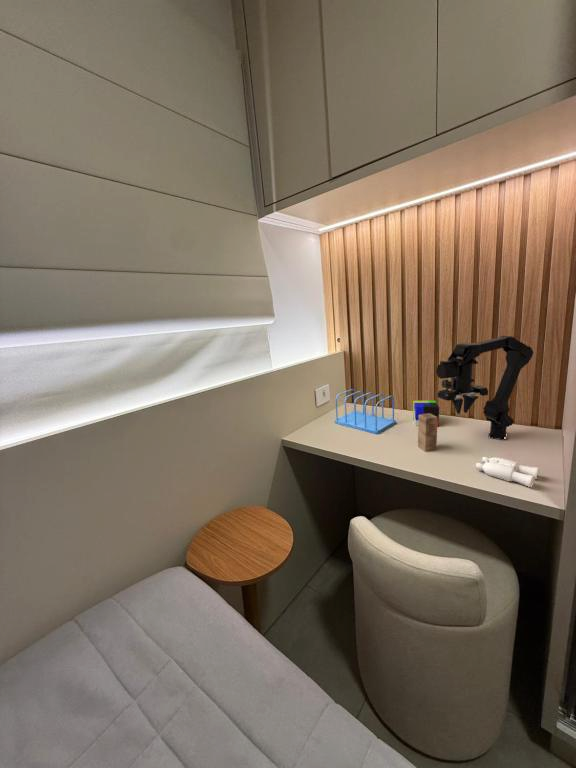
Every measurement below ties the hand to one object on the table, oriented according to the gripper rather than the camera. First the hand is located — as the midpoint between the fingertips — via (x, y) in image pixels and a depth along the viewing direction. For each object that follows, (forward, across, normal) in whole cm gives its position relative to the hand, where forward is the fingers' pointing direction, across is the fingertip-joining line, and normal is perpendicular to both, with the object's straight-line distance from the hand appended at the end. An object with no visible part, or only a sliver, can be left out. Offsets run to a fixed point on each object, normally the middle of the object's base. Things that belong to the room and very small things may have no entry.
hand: (461, 413), depth 130 cm
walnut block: (+13, +15, 0) cm, 20 cm away
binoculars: (+14, +3, +26) cm, 30 cm away
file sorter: (+13, +27, -35) cm, 46 cm away
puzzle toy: (+13, 0, -24) cm, 28 cm away
